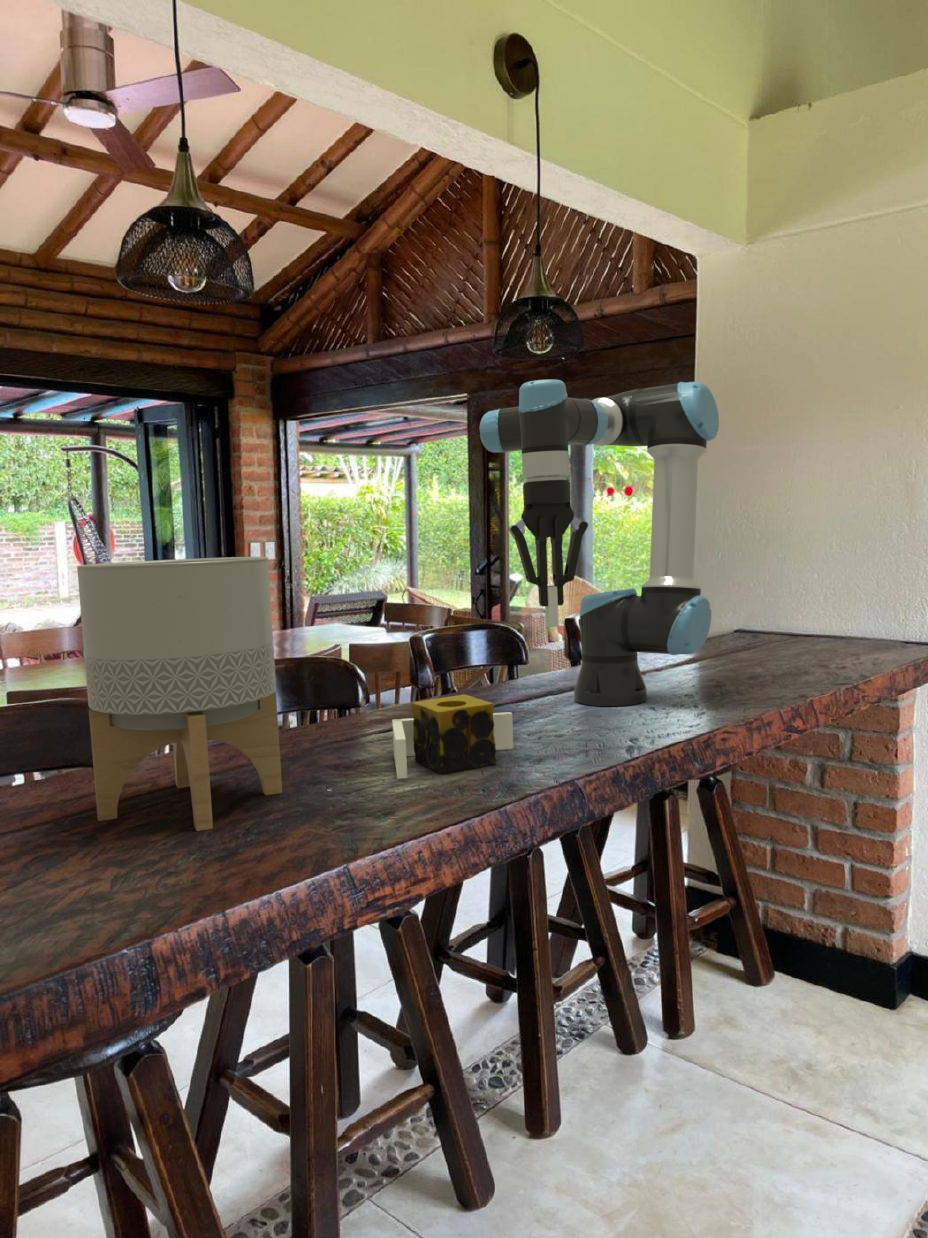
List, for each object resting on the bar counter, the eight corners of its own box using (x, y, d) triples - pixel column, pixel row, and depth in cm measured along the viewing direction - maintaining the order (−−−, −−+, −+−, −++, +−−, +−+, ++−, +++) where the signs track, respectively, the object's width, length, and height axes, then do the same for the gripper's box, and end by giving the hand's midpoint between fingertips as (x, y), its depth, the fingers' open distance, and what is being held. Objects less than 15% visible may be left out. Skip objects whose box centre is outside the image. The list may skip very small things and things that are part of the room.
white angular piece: (511, 746, 153) (510, 712, 152) (528, 769, 138) (526, 731, 137) (393, 754, 150) (392, 719, 150) (397, 778, 136) (395, 739, 135)
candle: (467, 752, 150) (465, 693, 149) (498, 765, 142) (496, 702, 141) (412, 762, 146) (409, 701, 145) (441, 775, 137) (438, 711, 136)
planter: (100, 847, 110) (77, 567, 107) (95, 796, 133) (76, 564, 130) (300, 814, 120) (285, 557, 117) (264, 772, 143) (250, 555, 139)
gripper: (579, 479, 148) (585, 620, 151) (502, 482, 147) (508, 626, 149) (592, 476, 141) (597, 625, 144) (510, 480, 139) (517, 631, 142)
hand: (552, 625), depth 147 cm, fingers closed
